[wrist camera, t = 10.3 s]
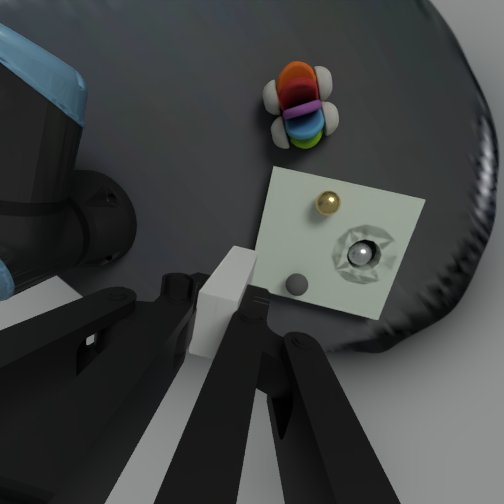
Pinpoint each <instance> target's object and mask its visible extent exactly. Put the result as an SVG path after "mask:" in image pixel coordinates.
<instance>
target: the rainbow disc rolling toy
mask: <svg viewBox="0 0 504 504" xmlns="http://www.w3.org/2000/svg"><path fill="white" fill-rule="evenodd" d="M331 91H332V78H331V74H330V72H329V71H328V70H327V69H326V68H324V67H321V66H315V67H314V69H313V70H312V68H311V67H310V66H309V65H307V64H306V63H303V62H299V61H295V62H291V63H290V64H288V65H287V66H286V67H285V68H284V69H283V70H282V71H281V73H280V75H279V77H278V81H277V86H276V84H275V80H272V81H270V82H269V83H268V84H267V85H266V86H265V88H264V90H263V100H264V105H265V108H266V110H267V111H268V112H269V113H271V114H273V115H280V114H281V109H282V111H283V117H284V118H283V117H282V116H280V117H278V118H277V119H276V120H275V121H274V122H273V124H272V126H271V134H272V138H273V141H274V143H275V145H277V146H278V147H280V148H284V149H287V148H289V142H288V137H287V133H288V135H289V137H290V141H291V143H293V144H294V145H295V146H297V147H299V148H303V149H307V148H311V147H313V146H315V145H316V144H317V143H318V142H319V140H320V139H321V136H322V134H323V129H324V133H325V135H326V136H328V135H330V134H331V133H333V132H334V131H335V129H336V128H337V126H338V123H339V116H338V111H337V108H336V107H335V106H334V105H333V104H331V103H329V102H324V101H325V100H326V99H327V98H328V97H329V95H330V94H331ZM286 132H287V133H286Z"/></svg>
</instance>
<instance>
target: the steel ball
mask: <svg viewBox="0 0 504 504" xmlns="http://www.w3.org/2000/svg"><path fill="white" fill-rule="evenodd" d="M348 257H349V259H350V261H351V262H352V263H354V264H356V265H364V264H366V263H367V262H369V261H370V259H371V257H372V251H371V249H370V247H369V246H368V245H367V244H365V243H355V244H353V245H352V246H351V247H350V248H349V250H348Z"/></svg>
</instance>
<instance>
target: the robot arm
mask: <svg viewBox="0 0 504 504" xmlns="http://www.w3.org/2000/svg"><path fill="white" fill-rule="evenodd" d="M87 97H88V90H87V86H86V84H85V81H84V80H83V78H82V77H81V75H80V74H79V73H78V72H77V71H76V70H75V69H73V68H72V67H71V66H69V65H68V64H66V63H65V62H63V61H62V60H60V59H58V58H57V57H55V56H54V55H52V54H51V53H49V52H47V51H46V50H44V49H42V48H41V47H39V46H38V45H36V44H34V43H33V42H31V41H29V40H28V39H26V38H24V37H23V36H21V35H19V34H18V33H16V32H14V31H13V30H11V29H9V28H8V27H6V26H4V25H2V24H1V23H0V301H3V300H7V299H8V298H10V297H12V296H14V295H16V294H18V293H20V292H22V291H24V290H26V289H28V288H30V287H33V286H35V285H37V284H39V283H41V282H43V281H45V280H47V279H49V278H51V277H54V276H56V275H58V274H60V273H62V272H64V271H66V270H68V269H70V268H73V267H96V266H102V265H106V264H109V263H111V262H113V261H115V260H117V259H119V258H120V257H122V256H123V255H124V254H125V253H126V252H127V251H128V250H129V249H130V247H131V246H132V244H133V241H134V239H135V235H136V227H137V223H136V215H135V211H134V208H133V205H132V203H131V201H130V199H129V197H128V196H127V194H126V193H125V191H124V190H123V189H122V188H121V187H120V186H119V185H118V184H117V183H116V182H115V181H114V180H112V179H111V178H109V177H108V176H106V175H104V174H101V173H99V172H95V171H90V170H74V166H75V162H76V157H77V153H78V148H79V144H80V139H81V135H82V130H83V128H84V129H85V122H84V117H85V109H86V103H87ZM257 257H258V251H254V250H250V249H246V248H241V247H237V246H233V247H232V249H231V250H230V251H229V253H228V254H227V255H226V257H225V258H224V259H223V261H222V262H221V263H220V265H219V266H218V267H217V269H216V270H215V271H214V273H213V274H212V275H207V274H203V273H199V272H198V273H195V274H192V275H188V274H183V273H168V274H165V275H163V277H162V285H161V293H160V296H159V297H158V298H157V299H156V300H155V301H154V302H144V301H136V297H137V295H136V293H135V292H134V291H133V290H131V289H128V288H125V287H110V288H106V289H102V290H100V291H97V292H95V293H92V294H90V295H88V296H85V297H83V298H81V299H78V300H75V301H73V302H70V303H68V304H65V305H63V306H60V307H58V308H55V309H53V310H50V311H48V312H45V313H43V314H40V315H38V316H35V317H33V318H30V319H28V320H25V321H23V322H21V323H18V324H15V325H13V326H10V327H8V328H5V329H3V330H0V504H104V503H105V502H106V500H107V498H108V496H109V494H110V492H111V491H112V489H113V487H114V486H115V484H116V482H117V480H118V478H119V477H120V475H121V472H122V471H123V469H124V467H125V466H126V464H127V462H128V460H129V458H130V457H131V455H132V453H133V452H134V449H135V448H136V446H137V444H138V443H139V441H140V439H141V437H142V435H143V434H144V432H145V430H146V428H147V426H148V425H149V423H150V421H151V419H152V418H153V416H154V414H155V412H156V410H157V409H158V407H159V405H160V403H161V401H162V399H163V398H164V396H165V394H166V392H167V391H168V388H169V387H170V385H171V383H172V382H173V380H174V378H175V376H176V374H177V373H178V371H179V369H180V367H181V366H182V364H183V362H184V359H185V354H186V349H187V347H188V346H189V344H190V349H189V353H192V354H195V355H199V356H202V357H206V358H210V359H213V362H212V365H211V367H210V369H209V372H208V374H207V377H206V379H205V382H204V384H203V386H202V389H201V391H200V393H199V396H198V399H197V401H196V403H195V406H194V408H193V410H192V413H191V415H190V418H189V420H188V422H187V425H186V427H185V429H184V432H183V434H182V437H181V439H180V441H179V444H178V446H177V449H176V451H175V453H174V456H173V458H172V461H171V463H170V465H169V468H168V470H167V473H166V475H165V477H164V480H163V482H162V485H161V487H160V489H159V492H158V494H157V496H156V499H155V501H154V504H236V502H237V495H238V490H239V484H240V478H241V472H242V466H243V461H244V455H245V449H246V443H247V437H248V430H249V425H250V419H251V414H252V408H253V402H254V396H255V390H256V388H257V389H259V390H261V391H262V392H264V393H266V394H267V404H268V410H269V416H270V422H271V427H272V433H273V438H274V444H275V449H276V456H277V461H278V467H279V473H280V477H281V484H282V489H283V495H284V501H285V504H401V503H400V502H399V499H398V498H397V496H396V494H395V491H394V490H393V488H392V485H391V484H390V482H389V480H388V478H387V476H386V474H385V472H384V470H383V468H382V466H381V464H380V462H379V460H378V458H377V456H376V454H375V452H374V450H373V448H372V446H371V444H370V442H369V440H368V438H367V436H366V434H365V432H364V430H363V428H362V426H361V424H360V422H359V420H358V419H357V417H356V415H355V413H354V411H353V409H352V407H351V405H350V403H349V401H348V399H347V397H346V395H345V393H344V391H343V389H342V387H341V385H340V383H339V381H338V379H337V377H336V375H335V373H334V371H333V369H332V367H331V365H330V363H329V361H328V359H327V357H326V355H325V353H324V351H323V349H322V347H321V346H320V344H319V343H318V342H317V340H315V339H314V338H313V337H311V336H310V335H308V334H305V333H301V332H289V333H286V335H285V336H284V337H281V336H279V335H278V334H276V333H274V332H273V331H272V330H270V328H269V327H268V326H267V321H266V320H267V314H268V308H269V302H270V296H271V294H270V292H269V291H268V289H266V288H262V287H258V286H254V285H251V283H252V279H253V274H254V270H255V265H256V261H257ZM93 334H94V342H93V343H92V344H90V345H86V338H87V337H89V336H91V335H93Z"/></svg>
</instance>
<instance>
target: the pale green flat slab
mask: <svg viewBox="0 0 504 504" xmlns="http://www.w3.org/2000/svg"><path fill="white" fill-rule="evenodd" d="M324 191H334V192H335V193H337V194H338V195H339V197H340V199H341V206H340V208H339V210H338V211H337V212H336V213H335V214H333V215H330V216H325V215H322V214H320V213H319V212H318V211H317V209H316V206H315V201H316V198H317V197H318V195H319V194H320V193H322V192H324ZM424 203H425V200H424V199H420V198H416V197H411V196H407V195H402V194H398V193H393V192H389V191H384V190H380V189H375V188H371V187H366V186H362V185H357V184H353V183H348V182H344V181H339V180H334V179H330V178H325V177H321V176H316V175H312V174H307V173H303V172H298V171H294V170H289V169H285V168H280V167H276V166H274V167H273V171H272V176H271V180H270V185H269V189H268V194H267V198H266V203H265V207H264V212H263V216H262V220H261V225H260V229H259V234H258V238H257V243H256V247H255V251H258V257H257V261H256V265H255V270H254V274H253V279H252V283H251V285H254V286H258V287H262V288H266V289H268V291H269V292H270V293H272V294H276V295H280V296H284V297H288V298H292V299H296V300H300V301H304V302H308V303H312V304H316V305H320V306H324V307H328V308H332V309H336V310H340V311H344V312H348V313H351V314H355V315H359V316H363V317H367V318H371V319H375V320H378V319H379V316H380V314H381V311H382V309H383V306H384V304H385V301H386V299H387V296H388V293H389V291H390V288H391V286H392V283H393V281H394V278H395V276H396V273H397V271H398V268H399V266H400V263H401V261H402V258H403V256H404V253H405V251H406V248H407V245H408V243H409V240H410V238H411V235H412V233H413V230H414V228H415V225H416V223H417V220H418V218H419V215H420V213H421V210H422V208H423V205H424ZM364 239H366V240H370V241H374V242H375V246H376V250H377V251H376V253H375V256H374V258H373V259H372V260H371V261H370V262H369V263H367V264H364V265H355V264H351V263H350V262H349V261H348V259H347V253H348V250H349V247H351V246H352V245H353V244H354V243H355V242H356V241H360V240H364ZM295 273H298V274H302V275H303V276H305V277H306V279H307V281H308V289H307V291H306V292H305V293H304V294H303V295H300V296H294V295H291V294H290V293H289V292H288V291H287V289H286V285H285V284H286V280H287V278H288V277H289V276H290V275H292V274H295Z"/></svg>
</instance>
